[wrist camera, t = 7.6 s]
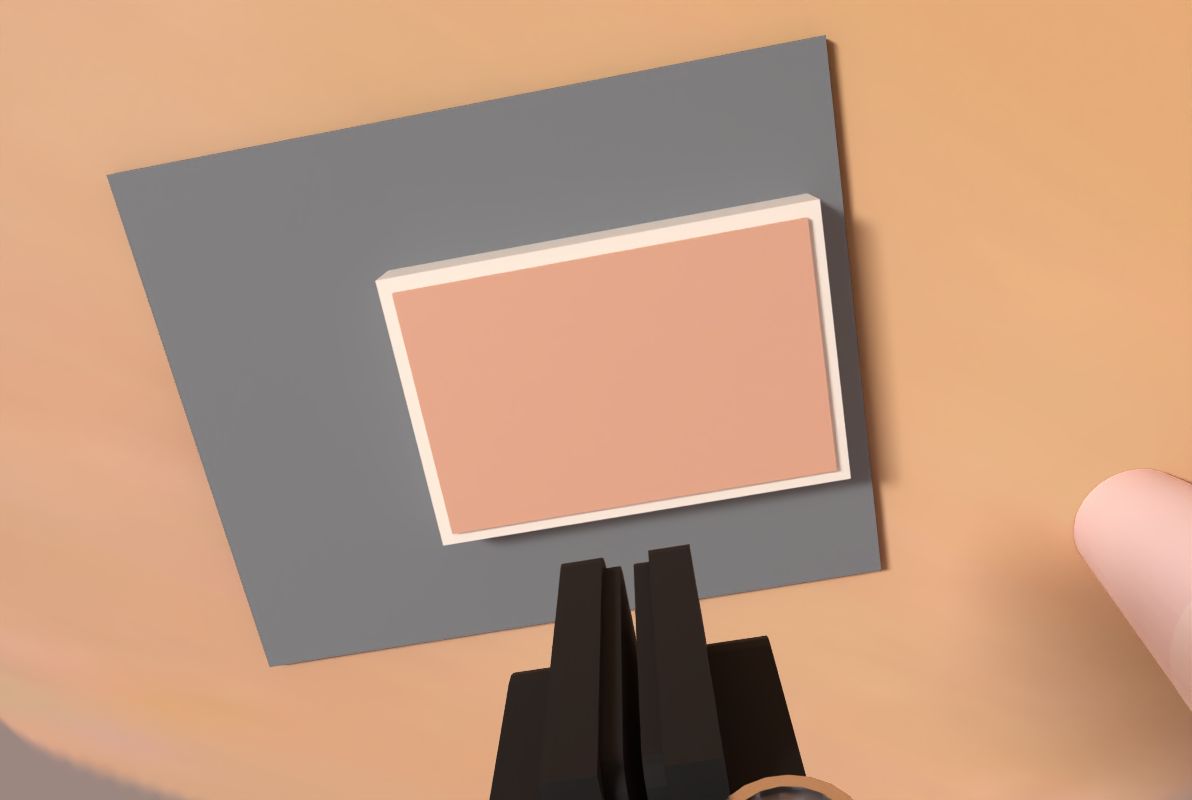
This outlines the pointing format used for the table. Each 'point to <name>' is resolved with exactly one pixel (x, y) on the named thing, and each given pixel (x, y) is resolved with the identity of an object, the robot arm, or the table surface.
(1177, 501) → the smoothie
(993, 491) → the table surface
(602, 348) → the tile
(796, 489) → the mat
